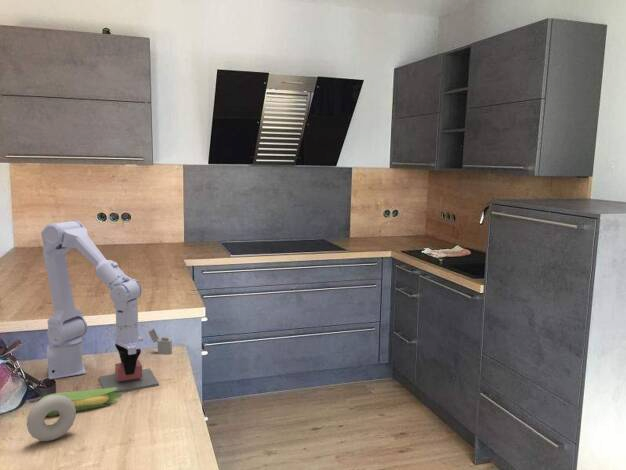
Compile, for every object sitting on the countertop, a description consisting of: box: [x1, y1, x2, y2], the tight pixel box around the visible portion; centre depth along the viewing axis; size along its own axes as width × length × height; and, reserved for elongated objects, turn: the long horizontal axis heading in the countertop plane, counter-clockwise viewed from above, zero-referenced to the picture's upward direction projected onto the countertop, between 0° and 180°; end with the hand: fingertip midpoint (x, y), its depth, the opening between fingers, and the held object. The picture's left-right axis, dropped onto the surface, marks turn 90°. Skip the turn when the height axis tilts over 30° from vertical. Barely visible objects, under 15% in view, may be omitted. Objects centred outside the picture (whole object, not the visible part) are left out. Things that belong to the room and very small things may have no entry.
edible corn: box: [37, 387, 123, 417], centre depth 127 cm, size 5×20×5 cm
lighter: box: [148, 327, 173, 355], centre depth 166 cm, size 7×2×8 cm, turn 88°
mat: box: [98, 367, 160, 394], centre depth 144 cm, size 14×12×1 cm
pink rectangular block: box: [114, 359, 143, 382], centre depth 143 cm, size 4×6×4 cm
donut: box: [26, 395, 77, 442], centre depth 113 cm, size 10×4×10 cm, turn 135°
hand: (128, 371), depth 143 cm, fingers closed on pink rectangular block, 4 cm apart
